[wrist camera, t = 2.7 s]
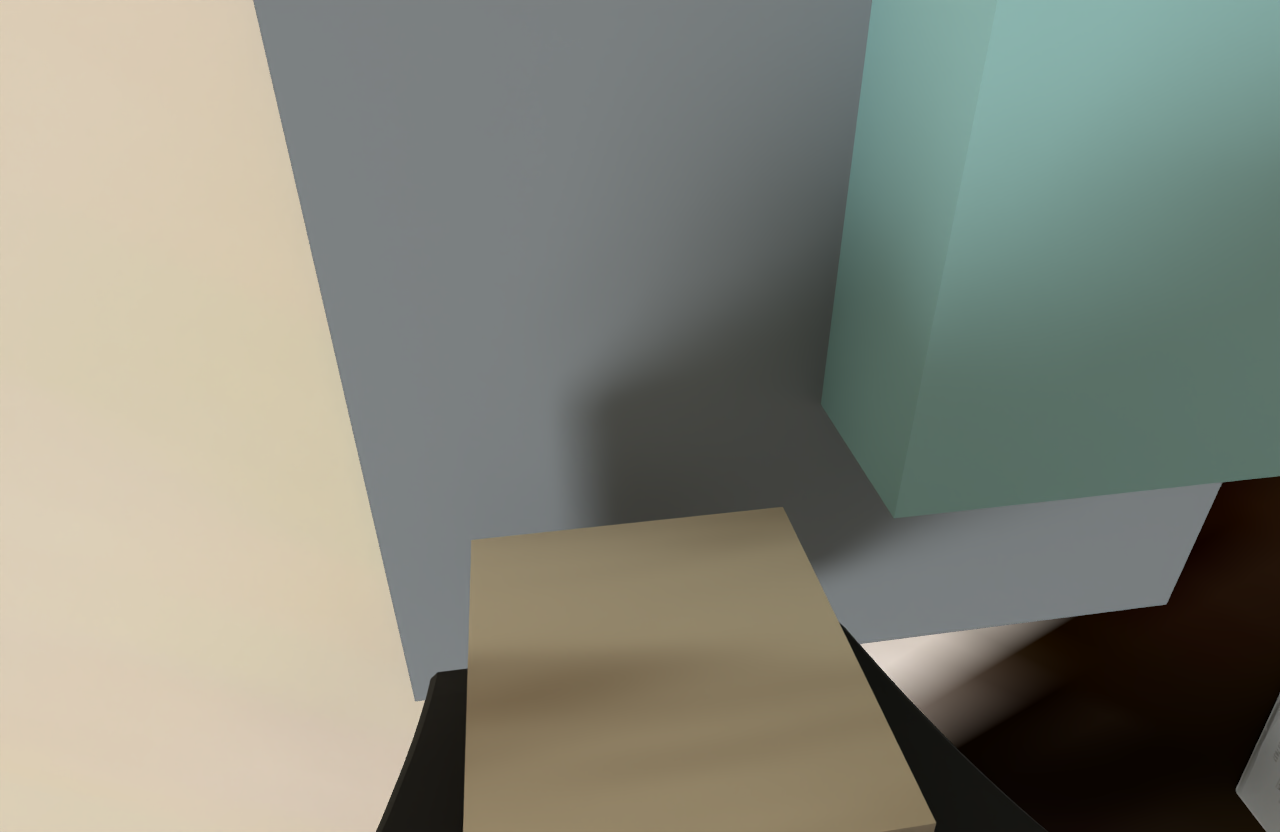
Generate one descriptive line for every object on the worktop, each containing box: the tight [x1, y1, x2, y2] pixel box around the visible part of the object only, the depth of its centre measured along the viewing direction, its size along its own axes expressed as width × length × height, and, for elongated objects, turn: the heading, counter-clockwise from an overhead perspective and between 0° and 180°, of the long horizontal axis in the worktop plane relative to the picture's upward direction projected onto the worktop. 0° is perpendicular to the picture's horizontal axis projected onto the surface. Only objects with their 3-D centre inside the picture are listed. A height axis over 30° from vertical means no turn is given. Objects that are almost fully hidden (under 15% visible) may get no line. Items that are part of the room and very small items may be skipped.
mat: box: [253, 0, 1222, 701], centre depth 14 cm, size 13×16×1 cm
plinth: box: [821, 0, 1280, 518], centre depth 11 cm, size 7×7×3 cm
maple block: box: [463, 507, 936, 832], centre depth 11 cm, size 4×4×5 cm
